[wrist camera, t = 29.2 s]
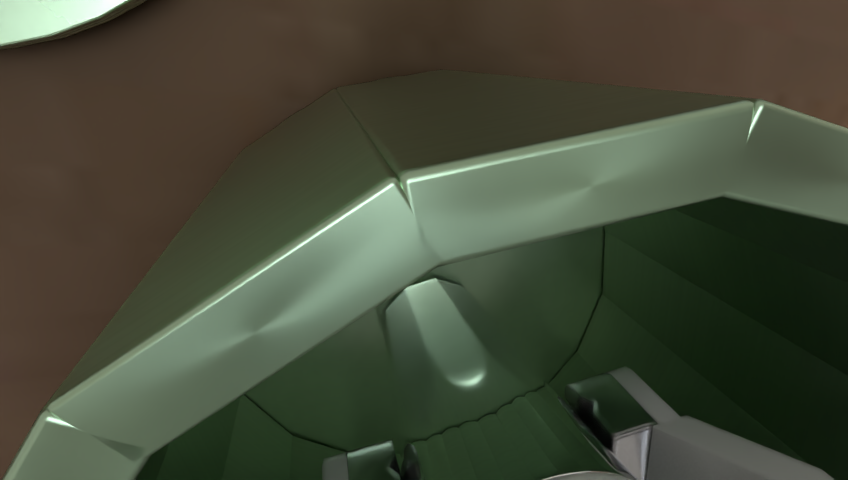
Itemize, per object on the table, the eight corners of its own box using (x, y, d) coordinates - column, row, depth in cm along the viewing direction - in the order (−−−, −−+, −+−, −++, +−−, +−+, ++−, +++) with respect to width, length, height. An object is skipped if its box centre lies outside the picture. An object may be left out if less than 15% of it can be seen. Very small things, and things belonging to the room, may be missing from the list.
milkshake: (506, 235, 14) (866, 557, 5) (483, 368, 16) (708, 776, 7) (366, 235, 13) (494, 661, 4) (360, 379, 15) (434, 886, 6)
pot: (658, 380, 19) (931, 634, 11) (200, 524, 16) (74, 1042, 8) (703, 23, 13) (1426, -40, 5) (-27, 147, 10) (-1963, 662, 1)
